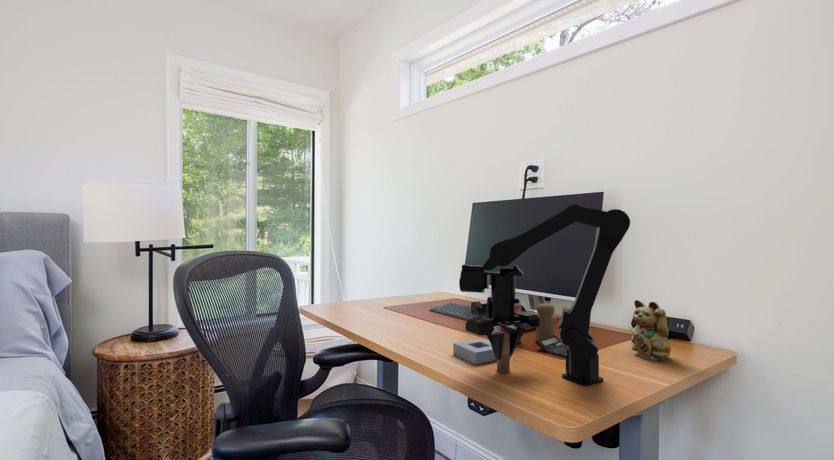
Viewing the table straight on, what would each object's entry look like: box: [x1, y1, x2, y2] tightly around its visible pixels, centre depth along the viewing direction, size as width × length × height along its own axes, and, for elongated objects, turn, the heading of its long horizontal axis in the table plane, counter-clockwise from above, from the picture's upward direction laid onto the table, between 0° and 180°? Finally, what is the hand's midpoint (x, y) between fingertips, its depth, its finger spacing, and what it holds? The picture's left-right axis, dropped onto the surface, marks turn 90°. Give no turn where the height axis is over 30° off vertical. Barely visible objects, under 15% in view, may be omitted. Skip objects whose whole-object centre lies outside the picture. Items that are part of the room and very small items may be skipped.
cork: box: [535, 303, 556, 341], centre depth 125 cm, size 6×6×11 cm
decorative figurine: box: [630, 299, 672, 362], centre depth 108 cm, size 10×8×15 cm
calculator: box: [534, 334, 570, 359], centre depth 113 cm, size 9×12×3 cm
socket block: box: [452, 337, 497, 365], centre depth 109 cm, size 10×10×3 cm
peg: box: [496, 332, 511, 374], centre depth 97 cm, size 3×3×9 cm
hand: (503, 358), depth 97 cm, fingers open, 3 cm apart
